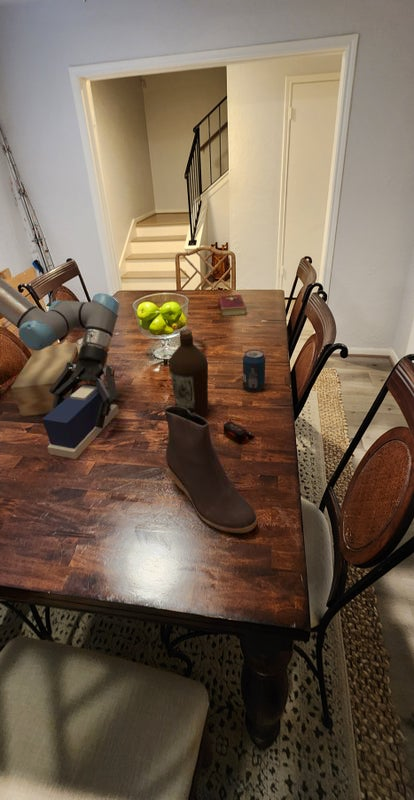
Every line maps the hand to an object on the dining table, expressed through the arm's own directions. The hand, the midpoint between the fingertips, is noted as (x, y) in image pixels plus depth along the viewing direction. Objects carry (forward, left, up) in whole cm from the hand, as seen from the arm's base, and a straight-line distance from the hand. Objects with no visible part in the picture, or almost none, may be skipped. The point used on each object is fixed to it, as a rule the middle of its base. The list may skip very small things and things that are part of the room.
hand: (76, 424), depth 98 cm
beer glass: (0, +33, -5) cm, 33 cm away
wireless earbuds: (+42, -8, -5) cm, 43 cm away
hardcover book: (+60, +96, -5) cm, 113 cm away
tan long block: (-13, +30, -5) cm, 33 cm away
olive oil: (+31, +7, -5) cm, 32 cm away
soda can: (+52, +17, -5) cm, 55 cm away
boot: (+31, -29, -5) cm, 43 cm away
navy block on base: (+1, +3, -5) cm, 6 cm away
